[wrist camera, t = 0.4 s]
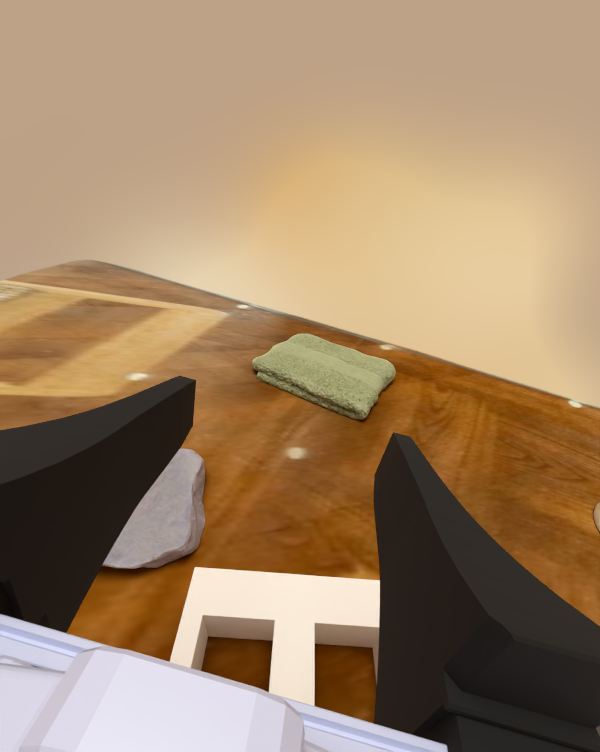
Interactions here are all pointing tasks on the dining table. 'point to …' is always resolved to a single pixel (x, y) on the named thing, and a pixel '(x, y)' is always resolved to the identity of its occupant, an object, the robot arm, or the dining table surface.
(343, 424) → the dining table surface
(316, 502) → the dining table surface
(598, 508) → the hand bell
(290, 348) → the washcloth
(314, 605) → the hole block
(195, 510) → the stone block
